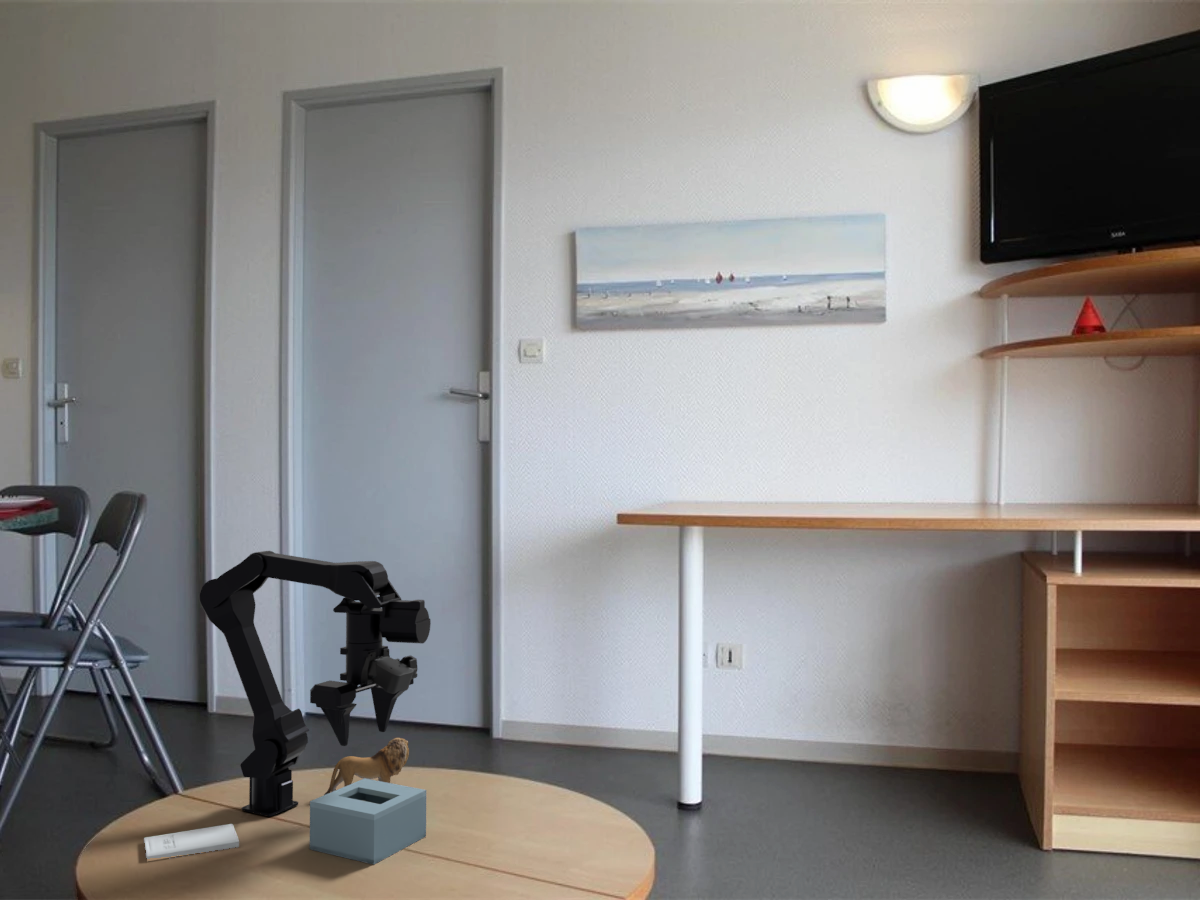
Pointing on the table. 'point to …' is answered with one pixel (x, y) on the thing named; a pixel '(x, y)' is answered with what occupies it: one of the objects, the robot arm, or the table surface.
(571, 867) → the table surface
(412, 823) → the tissue box
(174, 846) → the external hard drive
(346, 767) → the lion figurine
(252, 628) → the robot arm
